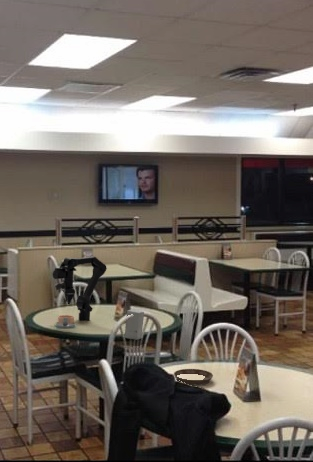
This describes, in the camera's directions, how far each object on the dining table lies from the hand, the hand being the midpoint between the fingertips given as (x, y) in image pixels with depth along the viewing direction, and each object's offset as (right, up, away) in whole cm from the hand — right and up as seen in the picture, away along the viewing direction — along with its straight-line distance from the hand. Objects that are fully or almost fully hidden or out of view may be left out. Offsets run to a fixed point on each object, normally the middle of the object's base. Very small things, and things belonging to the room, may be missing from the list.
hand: (67, 302), depth 391 cm
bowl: (-1, -13, 0) cm, 13 cm away
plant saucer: (+72, -23, -109) cm, 132 cm away
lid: (0, -13, -12) cm, 18 cm away
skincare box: (+42, -17, -32) cm, 56 cm away
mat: (0, -13, -12) cm, 18 cm away
